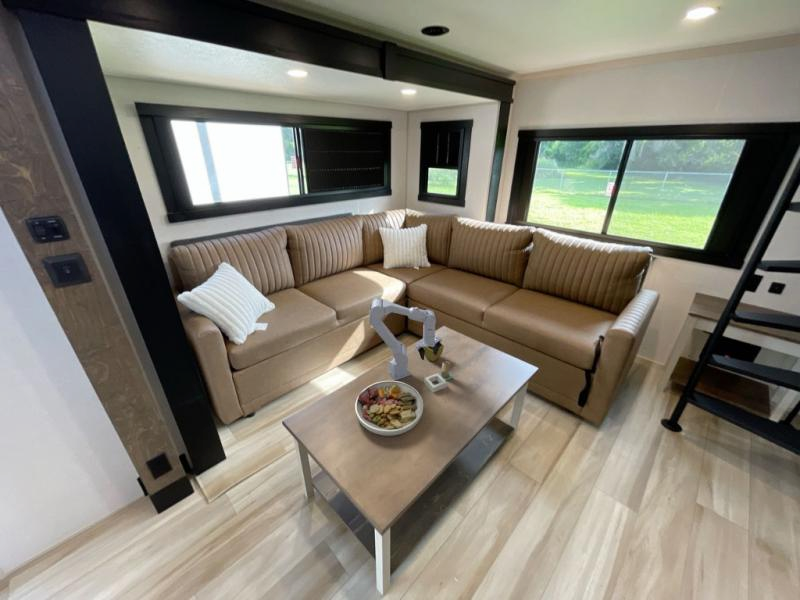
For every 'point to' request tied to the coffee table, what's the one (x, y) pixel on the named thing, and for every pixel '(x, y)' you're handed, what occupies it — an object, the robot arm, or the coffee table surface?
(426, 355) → the flower pot
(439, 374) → the pad
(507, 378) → the coffee table surface
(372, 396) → the bowl
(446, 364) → the dowel
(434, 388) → the socket block
